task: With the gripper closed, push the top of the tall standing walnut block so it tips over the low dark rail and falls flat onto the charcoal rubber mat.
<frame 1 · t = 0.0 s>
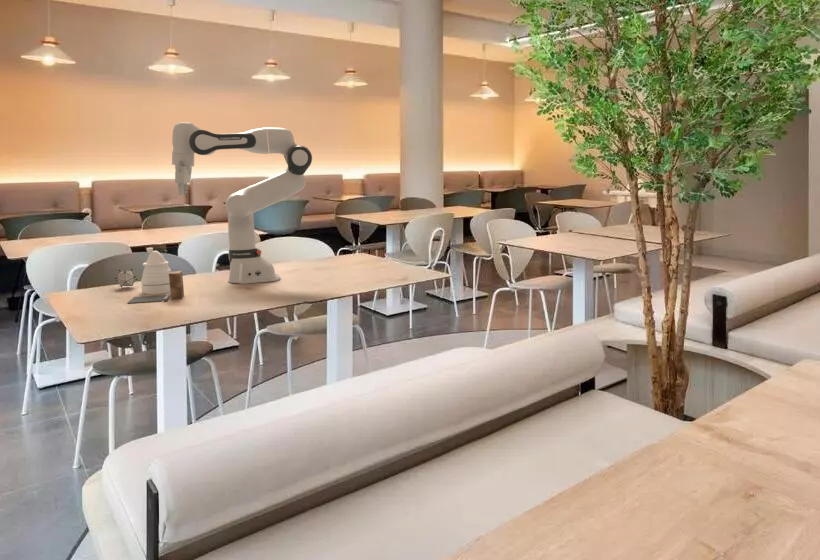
hand: (182, 194, 271), 39 cm above the table, tool pointing down, fingers open, 8 cm apart
walnut block: (177, 297, 247), on the table
mat: (147, 299, 244), on the table
honey pot: (158, 291, 263), on the table
rail: (168, 298, 246), on the table
twenty-sided die: (127, 288, 272), on the table
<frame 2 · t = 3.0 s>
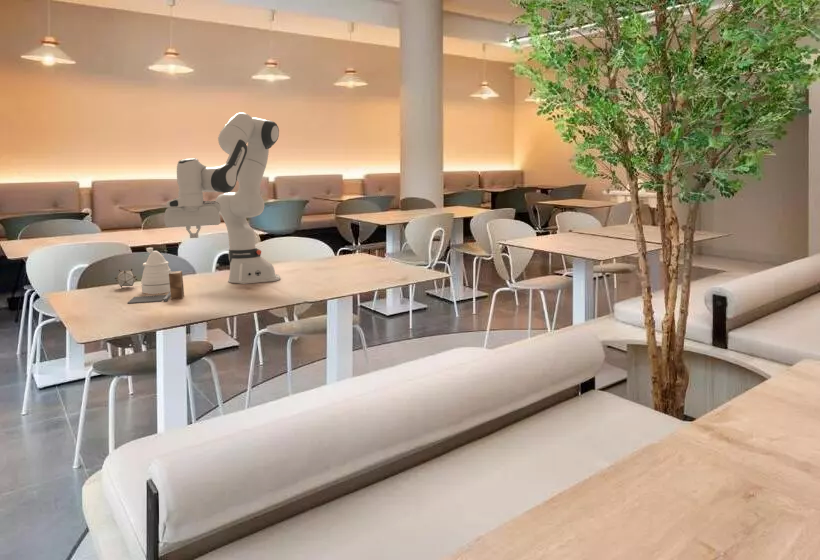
hand: (194, 237, 244), 23 cm above the table, tool pointing down, fingers closed
nothing on the table moved.
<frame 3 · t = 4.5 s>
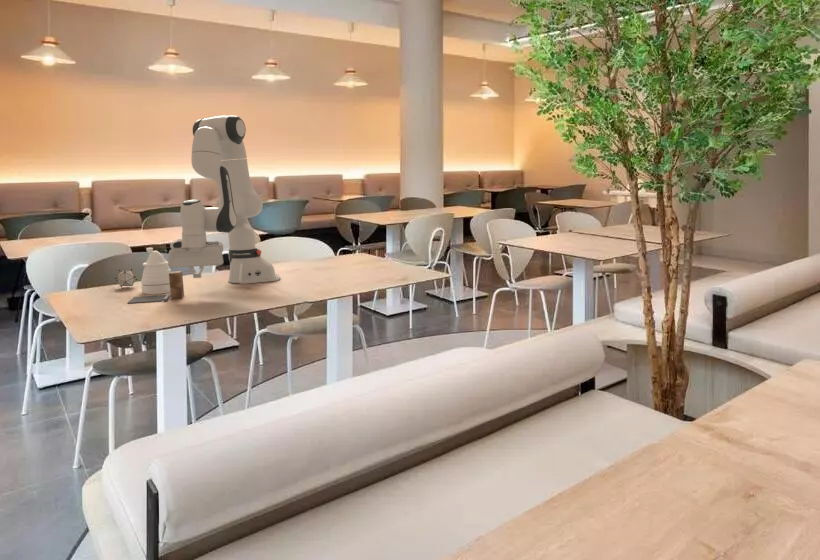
hand: (197, 277, 247), 7 cm above the table, tool pointing down, fingers closed
nothing on the table moved.
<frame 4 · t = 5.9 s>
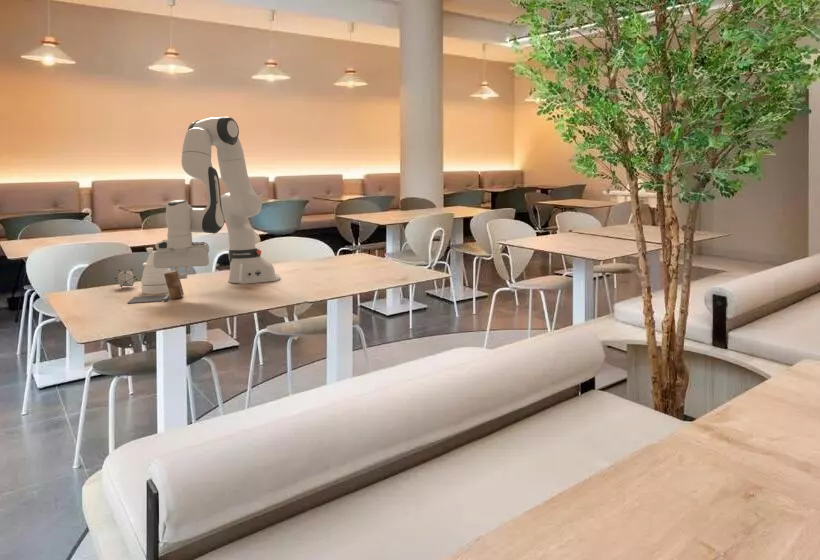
hand: (183, 278, 246), 7 cm above the table, tool pointing down, fingers closed
walnut block: (177, 296, 246), on the table, tilted 10°
everything else where it was.
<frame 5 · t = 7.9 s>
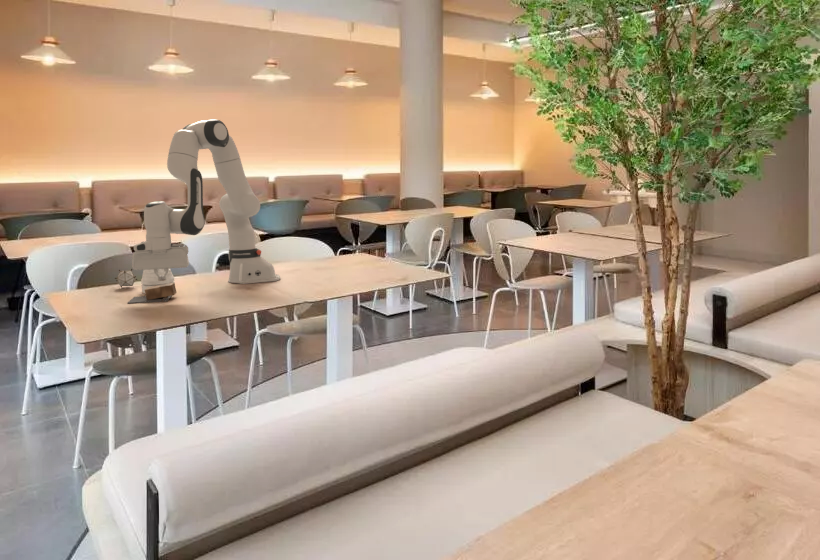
hand: (162, 280, 244), 7 cm above the table, tool pointing down, fingers closed
walnut block: (174, 288, 246), point 4 cm above the table, tilted 97°, touching mat, rail
everything else where it was.
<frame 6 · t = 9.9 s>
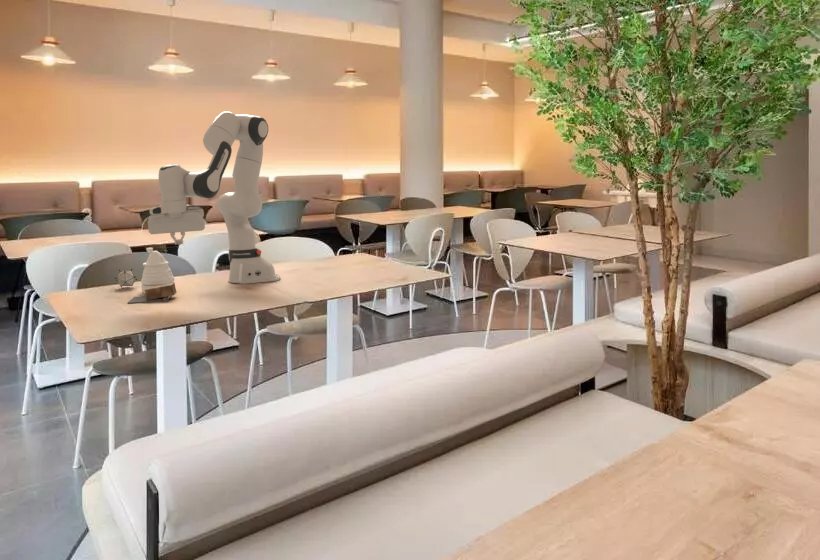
hand: (179, 244, 244), 21 cm above the table, tool pointing down, fingers closed
nothing on the table moved.
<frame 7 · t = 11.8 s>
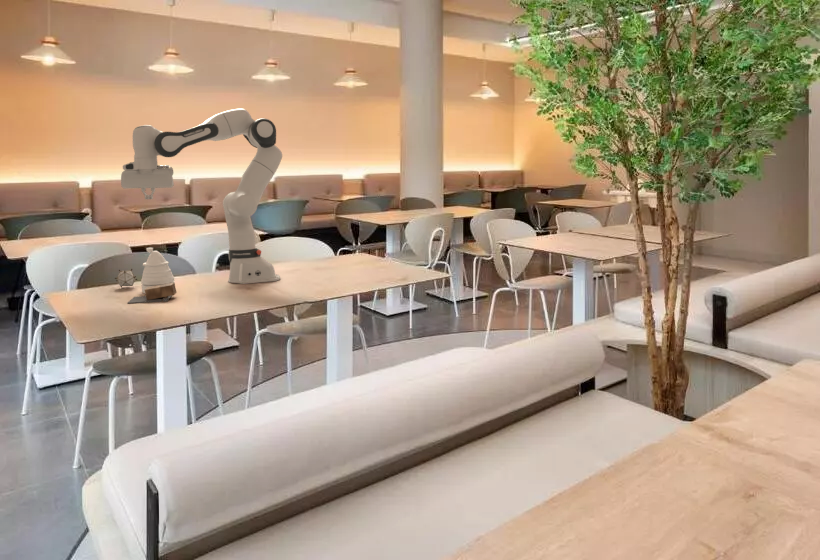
hand: (149, 199, 265), 37 cm above the table, tool pointing down, fingers closed
nothing on the table moved.
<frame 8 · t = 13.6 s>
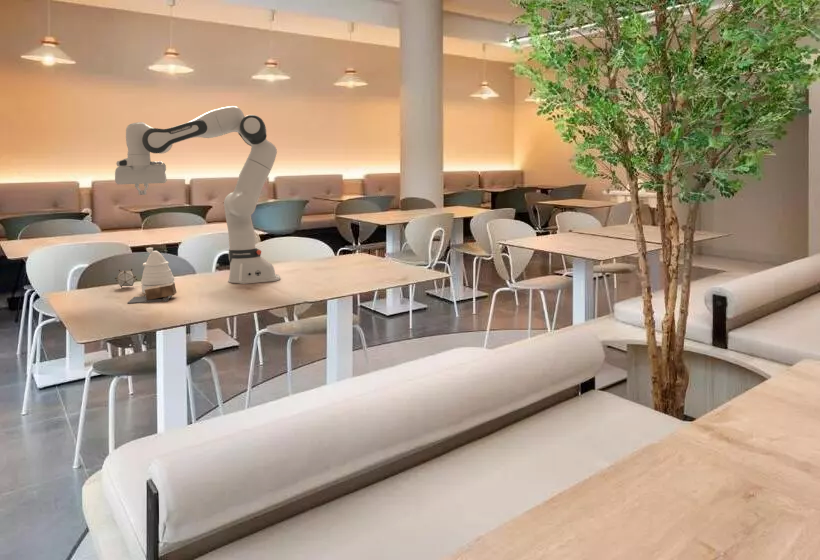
hand: (142, 194, 272), 39 cm above the table, tool pointing down, fingers closed
nothing on the table moved.
at the end: walnut block tilted 97°; walnut block inside the target area (7.5 cm from its centre), point 3.6 cm above the table; the gripper is holding nothing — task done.
